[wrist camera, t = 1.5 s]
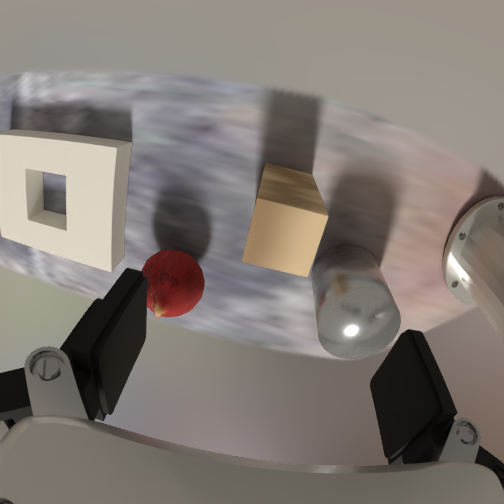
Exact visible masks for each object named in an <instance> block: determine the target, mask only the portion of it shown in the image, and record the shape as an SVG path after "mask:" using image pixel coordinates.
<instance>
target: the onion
mask: <svg viewBox="0 0 504 504" xmlns="http://www.w3.org/2000/svg"><path fill="white" fill-rule="evenodd" d="M141 272H143V276H144V277H147V278H148V288H147V307H148V308H149V309H150V310H151V311H152V312H154V315H155V317H156V318H160V317H161V316H164V317H176V316H180V315H182V314H185V313H187V312H189V311H190V310H192V309H193V308H194V306H195V305H196V304H197V303H198V302H199V300H200V299H201V297H202V294H203V290H204V282H205V280H204V276H203V272H202V269H201V268H200V266H199V265H198V263H197V262H196V260H195V259H194V258H193V257H191V256H190V255H189V254H187V253H185V252H182V251H179V250H161V251H160V252H158V253H156V254H154V255H153V256H151V257H150V258H149V259H148V260H147V261H146V263H145V265H144V267H143V269H142V271H141Z"/></svg>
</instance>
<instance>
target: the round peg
mask: <svg viewBox="0 0 504 504" xmlns="http://www.w3.org/2000/svg"><path fill="white" fill-rule="evenodd" d="M312 286H313V294H314V302H315V310H316V319H317V328H318V337H319V341H320V343H321V345H322V346H323V348H324V349H325V350H326V351H328V352H329V353H330V354H332V355H334V356H337V357H340V358H346V359H358V358H364V357H367V356H370V355H373V354H375V353H377V352H379V351H381V350H382V349H384V348H385V347H386V346H387V345H388V344H390V343H391V341H392V340H393V339H394V338H395V336H396V334H397V333H398V330H399V328H400V323H401V317H400V312H399V310H398V307H397V305H396V303H395V301H394V299H393V296H392V294H391V292H390V290H389V288H388V286H387V283H386V281H385V279H384V277H383V275H382V273H381V271H380V269H379V267H378V265H377V263H376V261H375V259H374V257H373V256H372V254H371V253H370V252H369V251H367V250H366V249H364V248H363V247H360V246H357V245H351V244H345V245H339V246H335V247H333V248H331V249H329V250H327V251H326V252H324V253H323V254H322V255H321V256H320V257H319V258H318V260H317V261H316V263H315V265H314V267H313V270H312Z"/></svg>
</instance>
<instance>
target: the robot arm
mask: <svg viewBox="0 0 504 504" xmlns="http://www.w3.org/2000/svg"><path fill="white" fill-rule="evenodd" d="M443 275H444V280H445V282H446V285H447V287H448V288H449V290H450V292H451V293H452V294H453V295H454V297H455V298H456V299H458V300H459V301H461V302H463V303H466V304H471V305H478V306H479V308H480V309H481V310H482V312H483V313H484V315H485V316H486V317H487V319H488V320H489V322H490V323H491V325H492V326H493V328H494V329H495V331H496V332H497V334H498V335H499V337H500V338H501V340H502V342H503V343H504V196H494V197H490V198H486V199H484V200H482V201H480V202H478V203H477V204H475V205H474V206H473V207H471V208H470V209H469V210H468V211H467V212H466V213H465V214H464V215H463V216H462V217H461V219H460V220H459V221H458V223H457V224H456V226H455V227H454V229H453V231H452V233H451V235H450V237H449V239H448V242H447V245H446V247H445V252H444V257H443ZM147 288H148V278H147V277H144V276H143V272H141V271H138V270H134V269H130V268H126V269H125V271H124V272H123V273H122V274H121V276H120V277H119V278H118V280H117V281H116V282H115V284H114V285H113V286H112V288H111V289H110V290H109V292H108V293H107V294H106V296H105V297H104V299H103V300H102V299H99V298H98V299H96V300H95V301H94V302H93V303H92V305H91V306H90V307H89V308H88V310H87V311H86V312H85V314H84V315H83V317H82V318H81V319H80V321H79V322H78V323H77V325H76V326H75V328H74V329H73V330H72V332H71V333H70V335H69V336H68V338H67V339H66V341H65V342H64V343H63V345H62V346H61V348H60V349H58V348H54V347H41V348H39V349H36V350H34V351H33V352H31V353H30V355H29V356H28V357H27V359H26V361H25V367H24V368H19V369H15V370H11V371H7V372H3V373H0V504H504V464H503V463H502V462H501V461H500V460H498V459H497V458H496V457H494V456H493V455H492V454H490V453H489V452H488V451H487V450H485V449H483V447H481V446H480V441H481V436H480V431H479V429H478V427H477V426H476V425H475V424H474V423H473V422H472V421H471V420H469V419H467V418H458V419H457V420H454V416H455V415H456V414H457V410H456V408H455V406H454V403H453V400H452V398H451V395H450V393H449V390H448V388H447V386H446V383H445V381H444V379H443V376H442V374H441V372H440V369H439V367H438V365H437V363H436V360H435V358H434V356H433V354H432V352H431V349H430V347H429V345H428V343H427V341H426V339H425V337H424V335H423V333H422V332H421V331H416V330H410V329H408V330H406V331H405V332H403V333H402V334H401V335H400V336H399V338H398V340H397V341H396V343H395V344H394V346H393V347H392V349H391V351H390V352H389V354H388V355H387V357H386V358H385V360H384V361H383V363H382V364H381V366H380V367H379V369H378V370H377V372H376V373H375V375H374V376H373V377H372V379H371V382H370V388H371V393H372V397H373V401H374V406H375V410H376V415H377V420H378V425H379V430H380V435H381V440H382V445H383V450H384V455H385V457H386V458H388V463H389V465H382V466H328V465H327V466H325V465H308V464H294V463H284V462H274V461H266V460H258V459H251V458H244V457H238V456H231V455H226V454H220V453H215V452H210V451H205V450H200V449H196V448H191V447H187V446H183V445H178V444H175V443H171V442H166V441H163V440H159V439H155V438H151V437H148V436H144V435H141V434H137V433H134V432H131V431H128V430H124V429H121V428H117V427H114V426H110V425H107V424H104V423H100V422H96V421H94V420H95V418H96V419H99V420H102V421H104V419H105V417H106V415H107V414H109V415H111V414H112V413H113V411H114V409H115V406H116V404H117V402H118V399H119V397H120V395H121V393H122V390H123V388H124V386H125V383H126V381H127V379H128V377H129V374H130V372H131V370H132V368H133V366H134V364H135V361H136V359H137V357H138V355H139V353H140V351H141V348H142V347H143V344H144V342H145V338H146V317H147ZM402 463H403V464H402Z"/></svg>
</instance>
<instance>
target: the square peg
mask: <svg viewBox="0 0 504 504" xmlns="http://www.w3.org/2000/svg"><path fill="white" fill-rule="evenodd" d="M328 217H329V216H328V213H327V211H326V208H325V206H324V203H323V200H322V198H321V195H320V193H319V190H318V188H317V185H316V183H315V180H314V178H313V175H312V174H309V173H305V172H301V171H298V170H294V169H290V168H286V167H282V166H278V165H274V164H270V163H265V167H264V171H263V175H262V179H261V183H260V188H259V192H258V196H257V200H256V204H255V208H254V212H253V216H252V221H251V225H250V229H249V233H248V237H247V242H246V246H245V250H244V254H243V259H242V262H245V263H250V264H254V265H258V266H262V267H266V268H270V269H275V270H279V271H283V272H287V273H292V274H296V275H300V276H304V277H308V274H309V271H310V268H311V266H312V263H313V260H314V257H315V254H316V252H317V249H318V246H319V243H320V240H321V237H322V234H323V231H324V229H325V226H326V223H327V220H328Z"/></svg>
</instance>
